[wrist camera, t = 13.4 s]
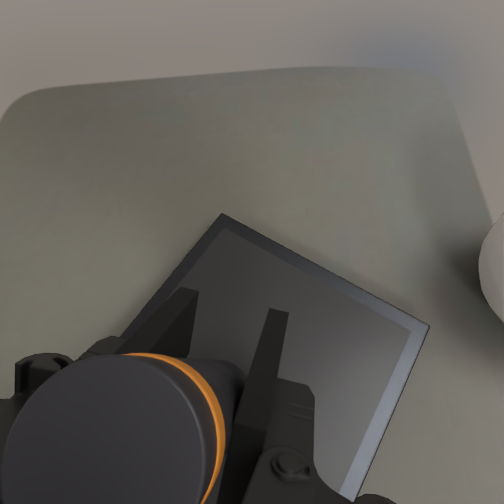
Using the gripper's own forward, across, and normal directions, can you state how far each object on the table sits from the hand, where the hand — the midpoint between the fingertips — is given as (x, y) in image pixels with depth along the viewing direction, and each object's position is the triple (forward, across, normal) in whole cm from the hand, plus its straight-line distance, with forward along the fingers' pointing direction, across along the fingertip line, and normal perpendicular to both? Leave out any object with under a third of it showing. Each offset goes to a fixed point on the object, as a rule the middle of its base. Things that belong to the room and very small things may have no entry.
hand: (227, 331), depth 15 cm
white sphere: (+8, +15, +2) cm, 17 cm away
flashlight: (+1, 0, -3) cm, 3 cm away
